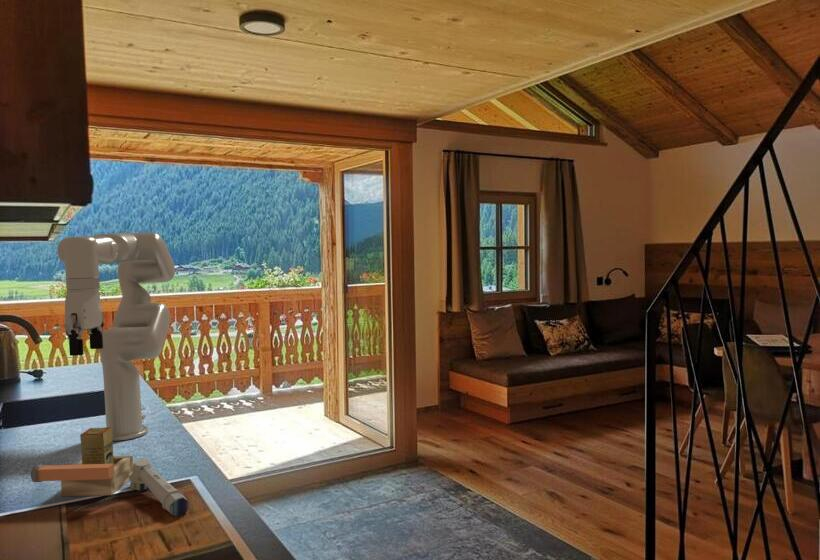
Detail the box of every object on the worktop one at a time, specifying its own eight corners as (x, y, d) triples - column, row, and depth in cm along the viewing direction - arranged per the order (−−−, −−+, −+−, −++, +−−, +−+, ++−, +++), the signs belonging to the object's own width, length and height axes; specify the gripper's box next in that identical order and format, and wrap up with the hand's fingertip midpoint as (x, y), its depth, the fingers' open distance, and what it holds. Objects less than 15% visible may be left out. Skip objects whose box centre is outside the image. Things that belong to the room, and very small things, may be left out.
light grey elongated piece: (167, 501, 124) (125, 455, 142) (167, 532, 125) (125, 483, 143) (192, 494, 127) (148, 450, 145) (192, 524, 128) (148, 477, 146)
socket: (87, 477, 148) (86, 457, 148) (133, 476, 148) (132, 455, 148) (61, 496, 137) (60, 474, 137) (111, 494, 137) (110, 472, 137)
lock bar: (41, 478, 136) (40, 462, 135) (115, 476, 135) (114, 460, 135) (31, 484, 132) (30, 468, 132) (107, 482, 132) (106, 466, 132)
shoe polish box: (83, 487, 140) (80, 434, 140) (92, 479, 145) (89, 428, 145) (106, 485, 141) (103, 433, 140) (114, 477, 146) (111, 427, 145)
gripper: (86, 283, 167) (89, 346, 168) (48, 288, 150) (53, 358, 151) (114, 282, 167) (117, 346, 168) (79, 287, 150) (83, 357, 151)
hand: (87, 351), depth 159 cm, fingers open, 9 cm apart
